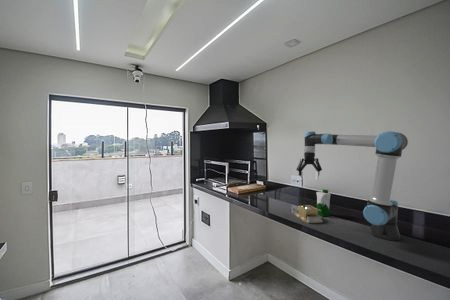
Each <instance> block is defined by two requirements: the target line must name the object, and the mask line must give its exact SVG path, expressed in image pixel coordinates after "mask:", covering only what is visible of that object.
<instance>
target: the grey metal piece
mask: <svg viewBox="0 0 450 300" xmlns="http://www.w3.org/2000/svg"><path fill="white" fill-rule="evenodd" d="M304 208H305V209H311V207H307V206H306V207H305V206H304ZM294 213H296V214H298V208H297V209H294ZM307 220H308V221H322V220H323V219H322V216H320V215H318V216H307Z"/></svg>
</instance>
